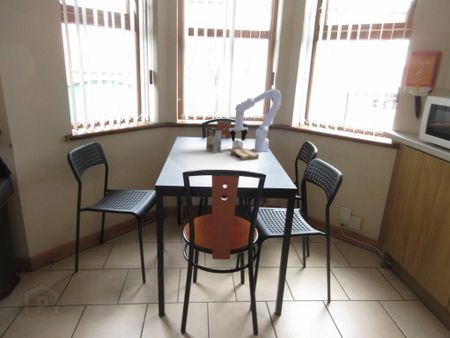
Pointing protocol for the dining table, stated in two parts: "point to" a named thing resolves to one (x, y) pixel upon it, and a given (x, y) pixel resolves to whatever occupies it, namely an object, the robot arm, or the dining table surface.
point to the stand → (245, 154)
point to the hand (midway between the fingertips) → (237, 140)
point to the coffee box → (214, 139)
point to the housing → (237, 145)
